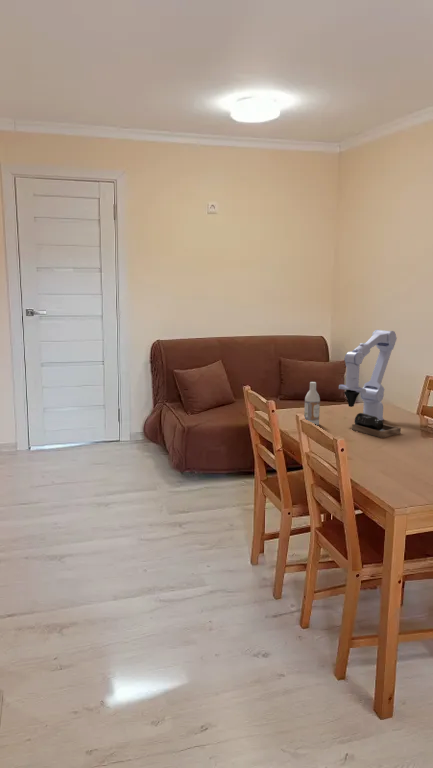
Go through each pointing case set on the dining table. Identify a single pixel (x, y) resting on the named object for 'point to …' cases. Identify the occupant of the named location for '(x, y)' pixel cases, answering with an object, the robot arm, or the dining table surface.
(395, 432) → the tray
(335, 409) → the dining table surface
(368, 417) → the supplement bottle
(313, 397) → the bath foam
